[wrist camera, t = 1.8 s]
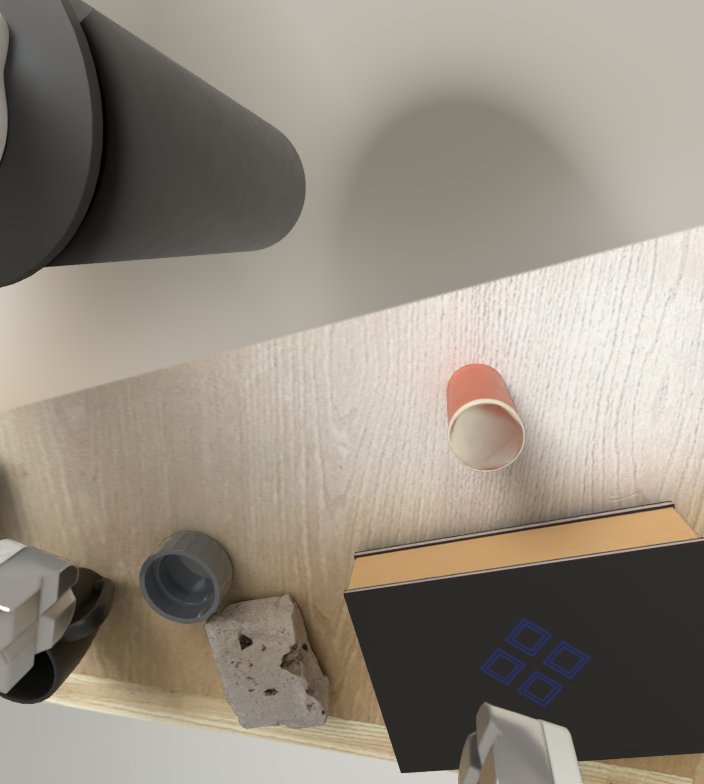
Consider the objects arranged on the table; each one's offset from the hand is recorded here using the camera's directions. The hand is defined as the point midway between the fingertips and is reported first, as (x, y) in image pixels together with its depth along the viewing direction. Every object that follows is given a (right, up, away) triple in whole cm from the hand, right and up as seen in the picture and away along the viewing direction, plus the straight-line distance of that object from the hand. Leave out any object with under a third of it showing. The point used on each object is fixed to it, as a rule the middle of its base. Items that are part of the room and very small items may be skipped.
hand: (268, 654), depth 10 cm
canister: (+11, +5, +31) cm, 33 cm away
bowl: (-13, -11, +40) cm, 43 cm away
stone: (-5, -19, +41) cm, 46 cm away
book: (+16, -14, +36) cm, 42 cm away
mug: (-23, -14, +42) cm, 50 cm away
